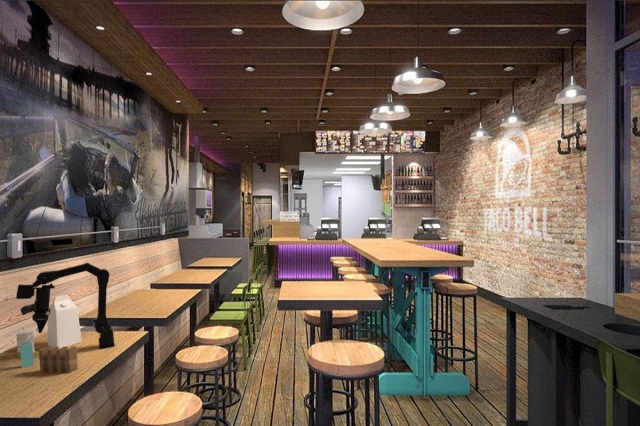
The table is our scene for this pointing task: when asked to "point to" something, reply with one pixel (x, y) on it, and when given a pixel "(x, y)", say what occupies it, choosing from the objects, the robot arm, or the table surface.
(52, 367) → the domino
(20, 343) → the ink box
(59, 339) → the milk
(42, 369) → the domino
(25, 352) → the domino
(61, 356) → the domino
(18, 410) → the table surface
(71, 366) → the domino
